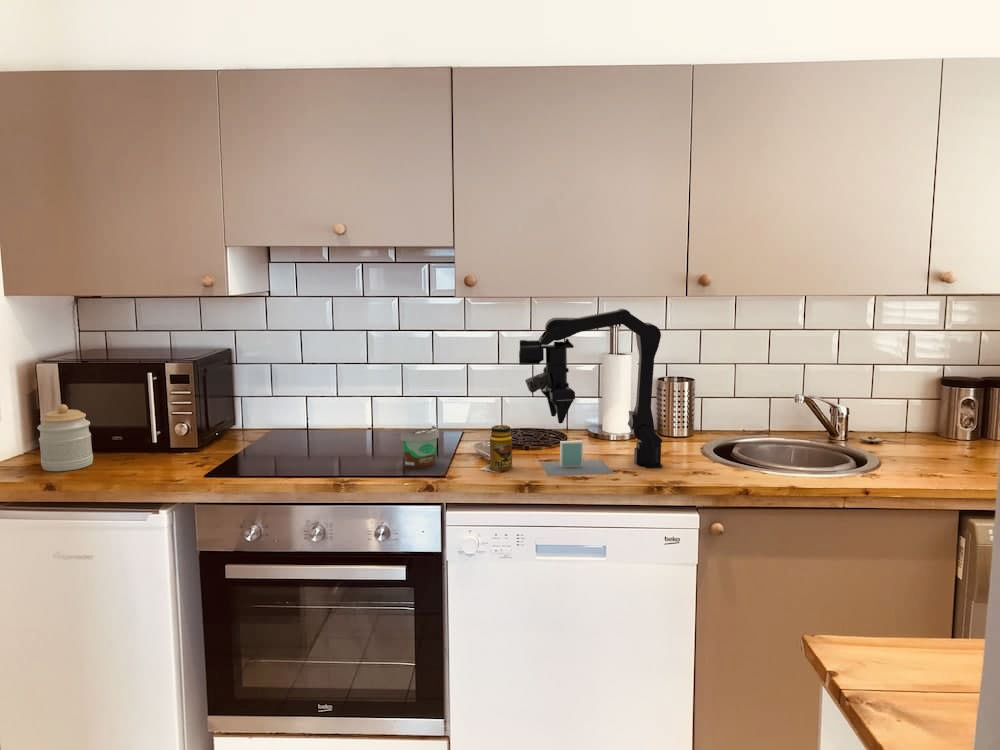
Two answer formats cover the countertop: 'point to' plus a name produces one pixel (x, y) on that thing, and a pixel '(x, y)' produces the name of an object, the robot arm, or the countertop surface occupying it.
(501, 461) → the condiment
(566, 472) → the mat
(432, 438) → the food container
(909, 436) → the countertop surface
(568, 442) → the tile
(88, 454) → the jar
